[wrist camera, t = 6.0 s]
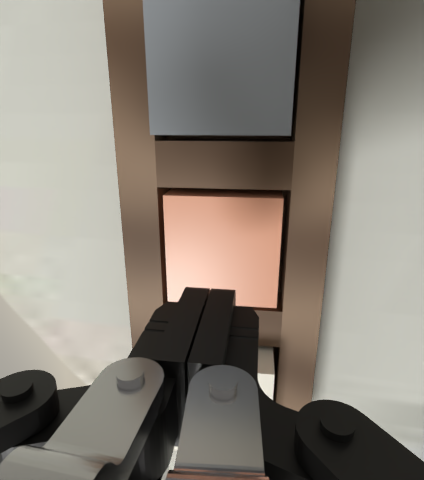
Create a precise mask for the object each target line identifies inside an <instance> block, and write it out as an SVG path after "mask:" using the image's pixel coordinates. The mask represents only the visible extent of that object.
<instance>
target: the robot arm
mask: <svg viewBox="0 0 424 480" xmlns="http://www.w3.org/2000/svg"><path fill="white" fill-rule="evenodd" d="M258 339H259V316H258V315H257V314H256V312H255V311H254V309H253V308H252V307H239V306H236V290H230V289H214V288H211V290H210V288H196V287H185V289H184V291H183V293H182V295H181V297H180V299H179V301H178V302H166V303H165V304H163V305H162V306H160V307H159V308H157V309H156V310H155V311H154V313H153V315H152V317H151V318H150V320H149V322H148V323H147V325H146V327H145V329H144V331H143V332H142V334H141V336H140V337H139V339H138V341H137V342H136V344H135V346H134V348H133V349H132V351H131V353H130V355H129V356H128V358H126V359H122V360H119V361H116V362H114V363H112V364H111V365H109V366H107V367H106V368H105V369H104V370H103V371H102V372H101V373H100V374H99V376H98V377H97V378H96V379H95V381H94V382H93V383H92V385H88V386H83V387H76V388H69V389H63V390H57V386H56V381H55V378H54V377H53V376H52V375H51V374H50V373H48V372H45V371H41V370H26V371H22V372H17V373H14V374H11V375H9V376H6V377H4V378H2V379H0V480H424V462H423V461H422V460H421V459H419V458H418V457H417V456H416V455H414V454H413V453H412V452H411V451H409V450H408V449H407V448H406V447H404V446H403V445H402V444H401V443H399V442H398V441H397V440H396V439H394V438H393V437H392V436H390V435H389V434H388V433H387V432H385V431H384V430H383V429H382V428H380V427H379V426H378V425H377V424H375V423H374V422H373V421H372V420H370V419H369V418H368V417H367V416H365V415H364V414H363V413H361V412H360V411H358V410H357V409H355V408H353V407H352V406H349V405H347V404H345V403H342V402H338V401H333V400H317V401H312V402H310V403H307V404H306V405H304V406H303V407H302V408H301V409H300V410H299V412H298V411H295V410H293V409H290V408H287V407H285V406H282V405H280V404H278V403H276V402H275V401H273V400H272V399H270V398H269V397H268V396H267V395H266V394H265V393H264V392H263V390H262V389H261V387H260V385H259V382H258V341H259V340H258ZM174 446H176V447H178V450H177V456H176V461H175V466H174V470H169V463H170V460H171V456H172V453H173V449H174Z"/></svg>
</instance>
